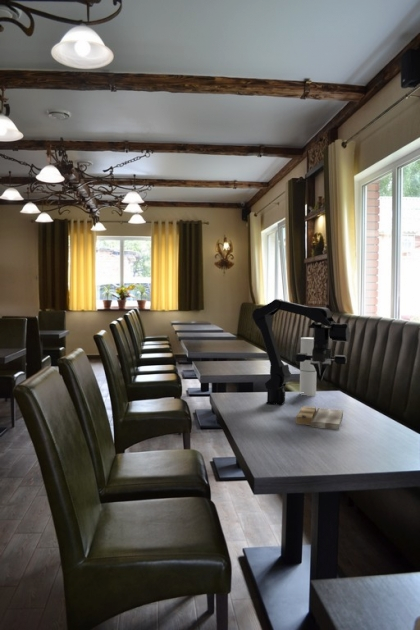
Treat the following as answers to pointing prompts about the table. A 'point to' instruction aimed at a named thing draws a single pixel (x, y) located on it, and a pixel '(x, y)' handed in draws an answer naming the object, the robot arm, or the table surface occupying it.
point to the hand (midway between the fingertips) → (320, 380)
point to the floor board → (327, 418)
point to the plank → (305, 415)
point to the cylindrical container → (307, 369)
